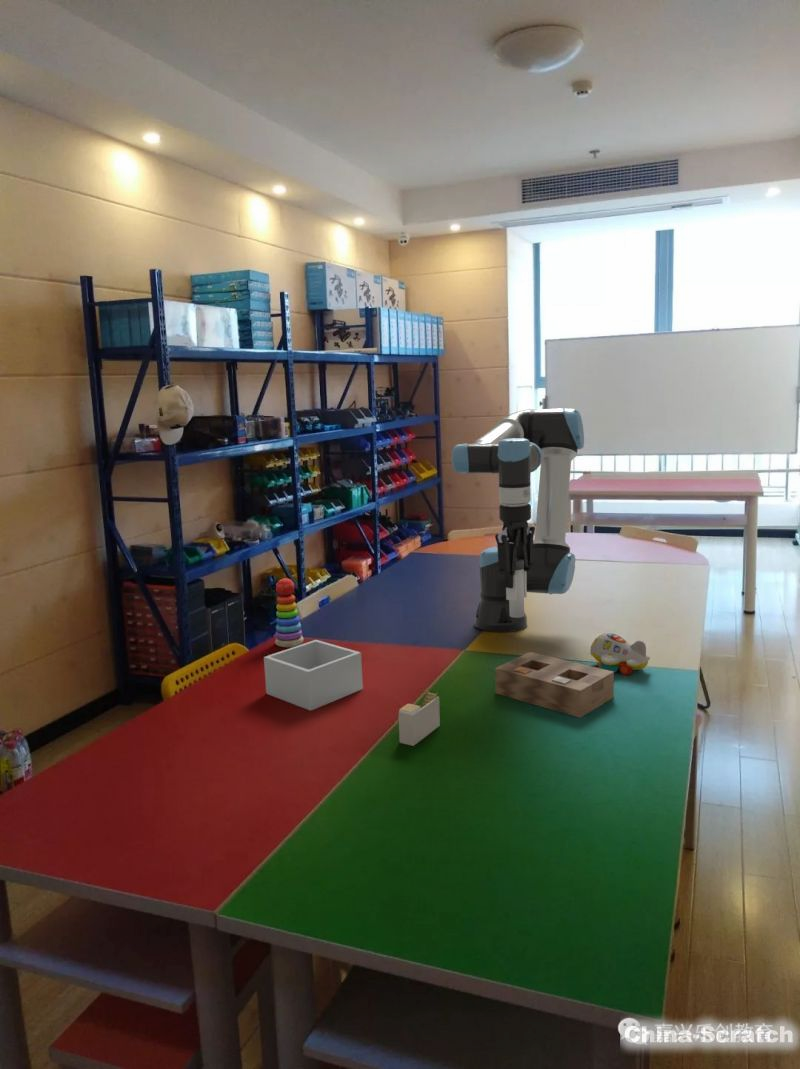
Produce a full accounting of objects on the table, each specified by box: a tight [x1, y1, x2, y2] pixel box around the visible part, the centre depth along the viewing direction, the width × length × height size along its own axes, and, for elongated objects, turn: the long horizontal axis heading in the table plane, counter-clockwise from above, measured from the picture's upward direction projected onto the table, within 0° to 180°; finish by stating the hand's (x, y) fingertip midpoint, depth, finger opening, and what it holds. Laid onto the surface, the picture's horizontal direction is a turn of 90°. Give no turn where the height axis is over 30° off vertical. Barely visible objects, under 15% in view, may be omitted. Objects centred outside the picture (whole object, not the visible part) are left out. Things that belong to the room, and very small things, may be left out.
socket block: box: [494, 651, 615, 719], centre depth 177 cm, size 22×14×6 cm, turn 47°
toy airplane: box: [589, 632, 651, 676], centre depth 192 cm, size 13×9×15 cm
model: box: [398, 690, 441, 747], centre depth 160 cm, size 3×11×8 cm, turn 148°
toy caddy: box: [263, 639, 364, 711], centre depth 184 cm, size 16×16×9 cm
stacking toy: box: [274, 577, 305, 648], centre depth 219 cm, size 8×8×19 cm
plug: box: [509, 558, 525, 618], centre depth 192 cm, size 4×4×14 cm
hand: (516, 598), depth 193 cm, fingers closed on plug, 3 cm apart
